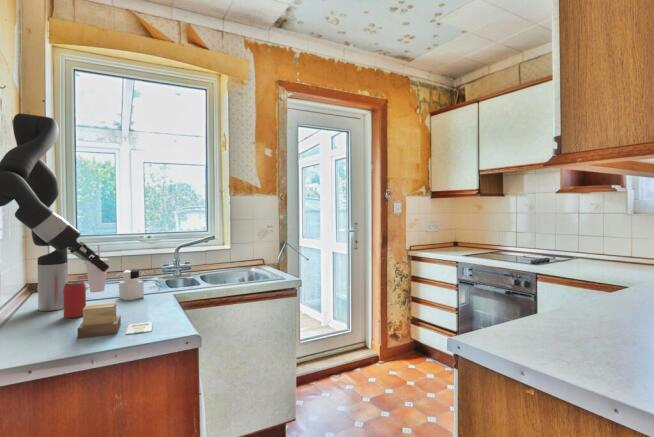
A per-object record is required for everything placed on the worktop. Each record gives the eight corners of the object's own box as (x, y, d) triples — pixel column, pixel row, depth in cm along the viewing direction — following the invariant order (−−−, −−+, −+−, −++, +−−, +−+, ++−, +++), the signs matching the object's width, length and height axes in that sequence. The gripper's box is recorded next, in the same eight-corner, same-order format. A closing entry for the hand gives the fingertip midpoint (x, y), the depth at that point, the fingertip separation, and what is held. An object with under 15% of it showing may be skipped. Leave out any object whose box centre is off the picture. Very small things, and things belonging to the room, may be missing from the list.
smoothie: (113, 290, 113) (113, 245, 113) (90, 294, 108) (90, 246, 108) (102, 288, 117) (102, 244, 117) (80, 291, 111) (80, 245, 111)
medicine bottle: (135, 295, 162) (135, 268, 162) (144, 297, 158) (143, 269, 158) (118, 298, 156) (118, 270, 156) (127, 300, 152) (126, 272, 152)
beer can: (74, 319, 126) (74, 284, 126) (58, 318, 127) (58, 283, 127) (90, 314, 132) (90, 281, 132) (75, 313, 134) (74, 280, 133)
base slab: (84, 328, 116) (84, 319, 116) (120, 324, 120) (120, 315, 120) (77, 338, 106) (77, 328, 106) (116, 333, 110) (116, 323, 110)
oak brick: (87, 320, 114) (86, 304, 114) (116, 317, 117) (116, 301, 117) (83, 325, 109) (82, 309, 109) (113, 322, 112) (113, 306, 112)
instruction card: (128, 325, 119) (128, 324, 119) (152, 322, 122) (152, 321, 122) (125, 334, 109) (125, 333, 109) (151, 331, 112) (151, 330, 112)
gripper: (73, 222, 102) (120, 261, 110) (62, 222, 112) (106, 257, 121) (49, 242, 98) (100, 280, 107) (41, 240, 108) (87, 275, 117)
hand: (103, 268), depth 114 cm, fingers closed on smoothie, 6 cm apart
